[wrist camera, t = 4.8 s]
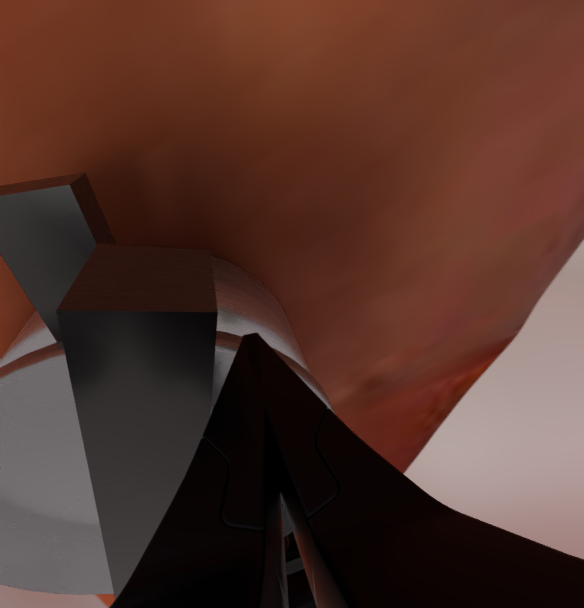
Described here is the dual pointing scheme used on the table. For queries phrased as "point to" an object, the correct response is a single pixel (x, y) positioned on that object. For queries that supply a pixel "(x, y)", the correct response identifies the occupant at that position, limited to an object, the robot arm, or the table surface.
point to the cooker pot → (78, 247)
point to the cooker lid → (110, 418)
